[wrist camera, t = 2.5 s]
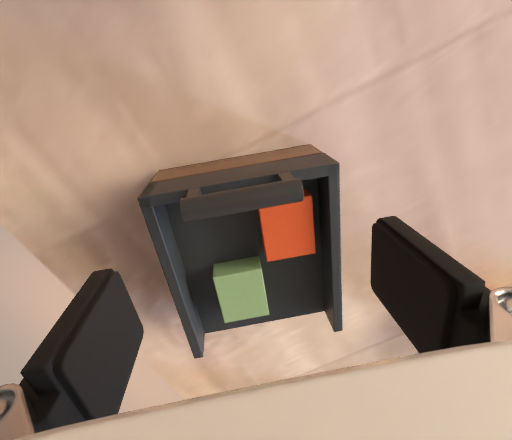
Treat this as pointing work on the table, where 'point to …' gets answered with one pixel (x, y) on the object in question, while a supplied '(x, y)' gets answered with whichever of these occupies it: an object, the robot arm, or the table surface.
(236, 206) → the tray
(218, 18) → the table surface
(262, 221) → the tea pack
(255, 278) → the tea pack
